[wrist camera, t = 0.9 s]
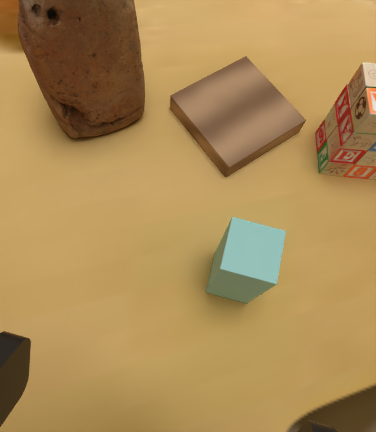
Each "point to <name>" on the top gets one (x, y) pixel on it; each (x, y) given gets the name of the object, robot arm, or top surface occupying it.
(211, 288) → the post
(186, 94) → the slab
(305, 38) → the top surface
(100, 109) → the block
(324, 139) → the stack of blocks
